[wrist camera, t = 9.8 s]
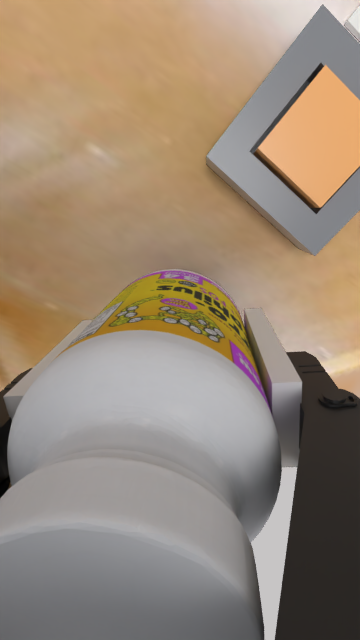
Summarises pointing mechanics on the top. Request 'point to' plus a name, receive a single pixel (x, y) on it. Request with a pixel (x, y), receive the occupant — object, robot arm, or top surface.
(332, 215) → the frame
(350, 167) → the plunger
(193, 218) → the top surface
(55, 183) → the top surface
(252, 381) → the supplement bottle
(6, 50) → the top surface
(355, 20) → the tile
